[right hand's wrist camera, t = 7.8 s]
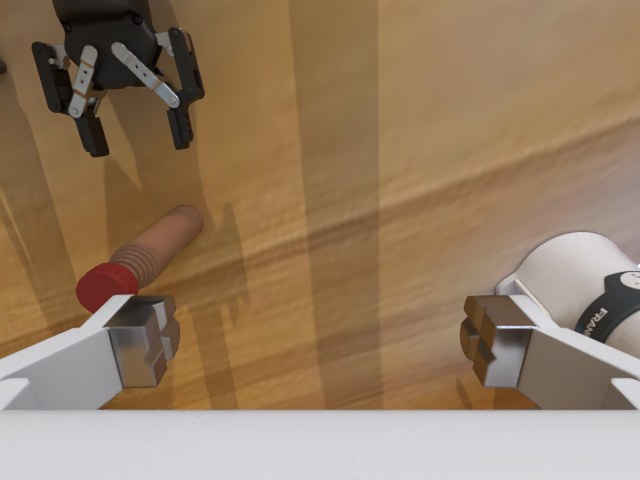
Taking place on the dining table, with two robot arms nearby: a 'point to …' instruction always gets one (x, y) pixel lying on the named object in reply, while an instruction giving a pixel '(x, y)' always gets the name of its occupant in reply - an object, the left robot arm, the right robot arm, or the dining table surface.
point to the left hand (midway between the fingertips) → (142, 152)
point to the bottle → (159, 244)
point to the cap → (105, 285)
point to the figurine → (2, 67)
